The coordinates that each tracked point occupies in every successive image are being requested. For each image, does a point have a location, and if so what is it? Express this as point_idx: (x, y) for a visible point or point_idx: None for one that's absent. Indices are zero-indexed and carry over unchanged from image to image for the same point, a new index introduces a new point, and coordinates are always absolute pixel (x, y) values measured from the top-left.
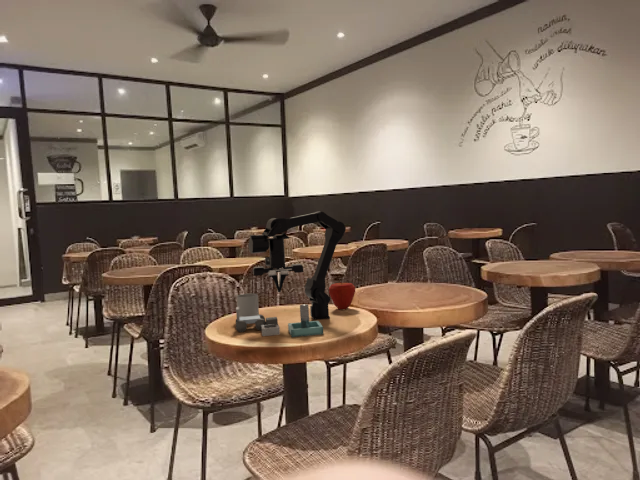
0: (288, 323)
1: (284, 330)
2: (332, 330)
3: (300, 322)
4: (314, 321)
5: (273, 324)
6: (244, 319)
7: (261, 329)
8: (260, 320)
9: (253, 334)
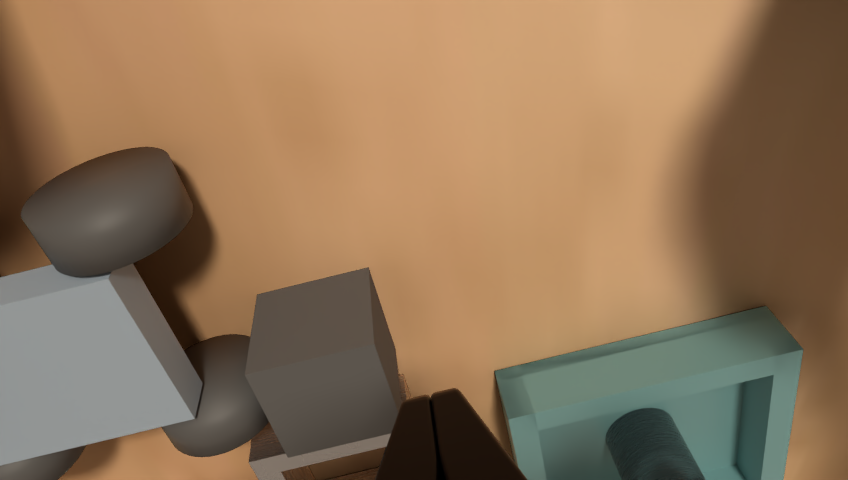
0: (513, 423)
1: (459, 370)
2: (842, 384)
3: (627, 396)
4: (761, 373)
5: (369, 445)
6: (4, 446)
7: (256, 437)
8: (216, 447)
9: (205, 461)
